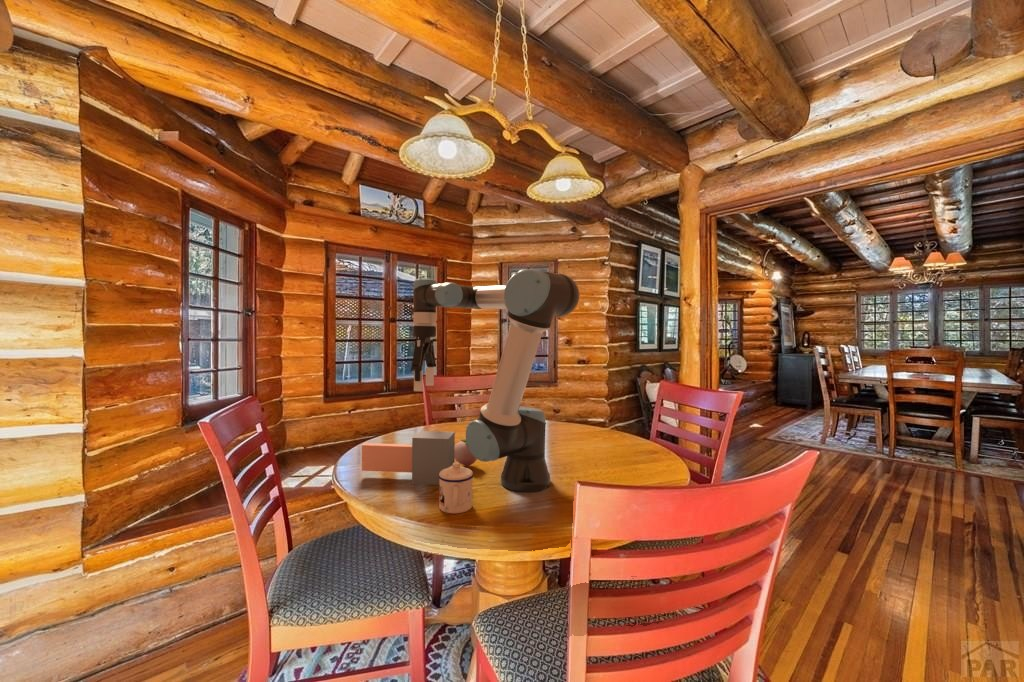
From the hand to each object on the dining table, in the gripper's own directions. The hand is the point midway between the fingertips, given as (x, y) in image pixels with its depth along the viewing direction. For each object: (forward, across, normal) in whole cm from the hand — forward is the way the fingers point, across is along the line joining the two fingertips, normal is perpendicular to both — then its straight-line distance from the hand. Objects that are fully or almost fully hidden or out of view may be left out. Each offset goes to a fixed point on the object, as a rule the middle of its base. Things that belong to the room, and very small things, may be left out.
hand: (424, 388), depth 140 cm
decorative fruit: (+27, -1, +14) cm, 30 cm away
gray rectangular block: (+27, +11, +6) cm, 30 cm away
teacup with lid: (+27, +32, +18) cm, 45 cm away
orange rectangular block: (+24, +11, -8) cm, 28 cm away
